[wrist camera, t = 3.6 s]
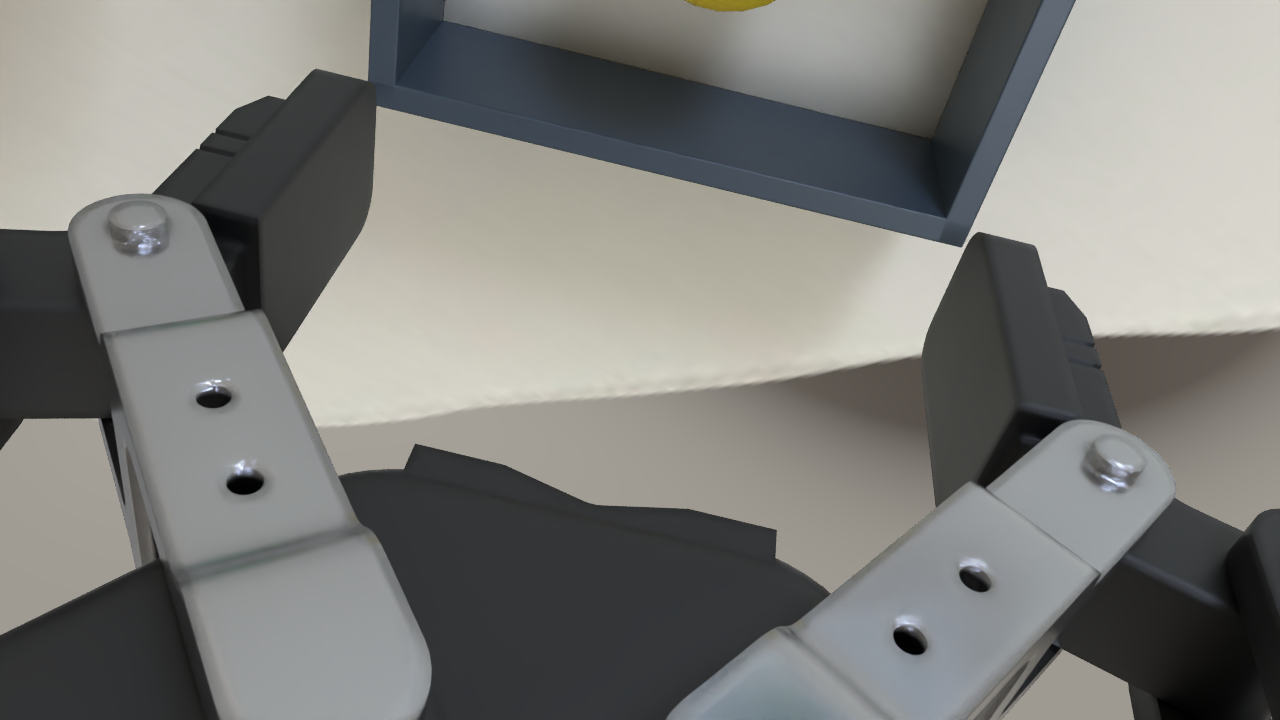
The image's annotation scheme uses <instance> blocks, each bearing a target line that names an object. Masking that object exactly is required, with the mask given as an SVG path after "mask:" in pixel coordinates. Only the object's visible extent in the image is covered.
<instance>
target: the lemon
mask: <svg viewBox="0 0 1280 720" xmlns="http://www.w3.org/2000/svg"><path fill="white" fill-rule="evenodd" d="M685 1H687V2H689V3H691V4H693V5H695V6H699V7H703V8H707V9H711V10H715V11H745V10H749V9H753V8H757V7H761V6H765V5H768V4H770V3H771V2H773V1H775V0H685Z"/></svg>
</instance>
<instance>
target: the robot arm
mask: <svg viewBox="0 0 1280 720" xmlns="http://www.w3.org/2000/svg"><path fill="white" fill-rule="evenodd" d="M375 125H376V90H375V86H374V84H373V83H372V82H369V81H364V80H360V79H356V78H352V77H348V76H344V75H340V74H336V73H332V72H328V71H323V70H319V69H315V70H313V71H312V72H311V73H310V74H309V75H308V76H307V77H306V78H305V79H304V80H303V81H302V82H301V83H300V85H299V86H298V87H297V88H296V89H295V90H294V91H293V92H292V93H291V94H290V95H289V97H288V98H287V99H286V100H284V99H280V98H276V97H271V96H266V97H264V98H262V99H259V100H257V101H254V102H252V103H249V104H247V105H245V106H242V107H240V108H237V109H235V110H234V111H233V112H232V113H231V114H230V115H229V116H228V117H227V118H226V119H225V120H224V121H223V122H222V123H221V124H220V125H219V126H218V127H217V128H216V132H215V133H211V134H210V135H209V136H208V138H207V139H206V140H205V141H204V142H203V143H202V144H201V145H200V149H196V150H195V151H194V152H193V153H192V154H191V155H190V156H189V157H188V158H187V159H186V160H185V161H184V162H183V163H182V164H181V165H180V166H179V167H178V168H177V169H176V170H175V171H174V172H173V173H172V174H171V175H170V176H169V177H168V178H167V179H166V180H165V181H164V182H163V183H162V184H161V185H160V186H159V187H158V188H157V189H156V190H155V191H154V192H153V193H152V194H126V195H119V196H114V197H110V198H106V199H103V200H100V201H97V202H94V203H92V204H90V205H88V206H86V207H85V208H83V209H82V210H81V211H79V212H78V213H77V214H76V215H75V216H74V217H73V218H72V220H71V222H70V223H69V227H68V231H35V230H10V229H0V450H1V449H2V447H3V446H4V445H5V443H6V442H7V441H8V440H9V438H10V437H11V435H12V434H13V433H14V432H15V430H16V429H17V428H18V427H19V425H20V424H21V423H22V421H23V419H24V418H25V419H28V418H29V419H37V418H38V419H42V418H43V419H44V418H45V419H46V418H47V419H48V418H49V419H50V418H98V419H99V425H100V429H101V433H102V437H103V440H104V444H105V448H106V452H107V455H108V459H109V463H110V466H111V470H112V474H113V478H114V482H115V486H116V489H117V493H118V497H119V501H120V504H121V508H122V512H123V516H124V520H125V523H126V527H127V530H128V535H129V539H130V543H131V548H132V552H133V557H134V562H135V567H136V569H135V570H133V571H131V572H129V573H126V574H124V575H122V576H120V577H118V578H116V579H114V580H112V581H110V582H108V583H106V584H104V585H102V586H100V587H98V588H96V589H94V590H92V591H90V592H88V593H86V594H84V595H82V596H80V597H78V598H76V599H74V600H72V601H69V602H68V603H66V604H63V605H61V606H59V607H57V608H55V609H53V610H51V611H49V612H47V613H45V614H43V615H41V616H39V617H37V618H35V619H33V620H31V621H29V622H27V623H25V624H23V625H21V626H19V627H17V628H14V629H12V630H10V631H8V632H6V633H4V634H2V635H0V720H1002V719H1003V718H1004V716H1005V715H1006V714H1007V713H1008V712H1009V711H1010V709H1011V708H1012V707H1013V706H1014V705H1015V704H1016V703H1017V702H1018V701H1019V699H1020V698H1021V697H1022V696H1023V695H1024V694H1025V692H1027V690H1028V689H1029V688H1030V687H1031V686H1032V685H1033V684H1034V682H1035V681H1036V680H1037V679H1038V678H1039V677H1040V675H1042V673H1043V672H1044V671H1045V670H1046V669H1047V668H1048V667H1049V665H1050V664H1051V663H1052V662H1053V661H1054V660H1055V658H1056V657H1057V656H1058V655H1059V654H1060V653H1061V651H1062V650H1063V649H1064V650H1066V651H1068V652H1069V653H1071V654H1073V655H1075V656H1077V657H1079V658H1081V659H1083V660H1085V661H1087V662H1089V663H1091V664H1093V665H1095V666H1097V667H1098V668H1101V669H1102V670H1104V671H1106V672H1108V673H1110V674H1112V675H1114V676H1116V677H1118V678H1120V679H1122V680H1124V681H1126V682H1128V685H1129V693H1130V697H1131V703H1132V709H1133V714H1134V720H1280V509H1270V510H1267V511H1264V512H1262V513H1260V514H1259V515H1258V516H1257V517H1256V518H1255V519H1254V520H1253V522H1252V523H1251V524H1250V525H1249V527H1248V528H1247V529H1246V530H1245V531H1244V532H1243V531H1241V530H1239V529H1237V528H1234V527H1232V526H1230V525H1228V524H1225V523H1224V522H1221V521H1219V520H1217V519H1215V518H1213V517H1211V516H1209V515H1207V514H1204V513H1202V512H1200V511H1198V510H1196V509H1193V508H1191V507H1190V506H1188V505H1186V504H1184V503H1182V502H1180V501H1179V500H1177V499H1176V498H1174V497H1175V494H1176V483H1175V479H1174V476H1173V474H1172V472H1171V470H1170V468H1169V467H1168V466H1167V464H1166V463H1165V461H1164V460H1163V459H1162V458H1161V457H1160V456H1159V455H1158V454H1157V453H1156V452H1155V451H1154V450H1153V449H1152V448H1151V447H1150V446H1148V445H1147V444H1146V443H1144V442H1143V441H1141V440H1140V439H1139V438H1137V437H1135V436H1134V435H1132V434H1130V433H1128V432H1126V431H1124V430H1122V428H1121V424H1120V421H1119V418H1118V415H1117V412H1116V409H1115V405H1114V402H1113V399H1112V396H1111V393H1110V390H1109V387H1108V383H1107V380H1106V377H1105V374H1104V371H1103V370H1100V368H1101V361H1100V358H1099V355H1098V352H1097V349H1094V345H1095V343H1094V340H1093V336H1092V333H1091V330H1090V327H1089V324H1088V321H1087V318H1086V316H1085V315H1084V314H1083V313H1082V312H1081V311H1080V309H1079V308H1078V307H1077V306H1076V305H1075V304H1074V302H1073V301H1072V300H1071V299H1070V298H1069V296H1068V295H1067V294H1066V293H1065V292H1064V291H1062V290H1058V289H1054V288H1050V287H1047V283H1046V280H1045V276H1044V273H1043V269H1042V266H1041V262H1040V259H1039V255H1038V251H1037V249H1036V247H1035V246H1034V245H1031V244H1027V243H1023V242H1019V241H1015V240H1011V239H1006V238H1002V237H998V236H994V235H990V234H986V233H982V232H977V233H976V234H975V235H974V236H973V237H972V238H971V240H970V241H969V243H968V244H967V246H966V248H965V250H964V253H963V255H962V257H961V259H960V261H959V263H958V266H957V268H956V270H955V272H954V274H953V276H952V279H951V281H950V283H949V285H948V287H947V289H946V292H945V294H944V296H943V298H942V300H941V302H940V305H939V307H938V309H937V311H936V313H935V315H934V318H933V320H932V322H931V324H930V327H929V329H928V332H927V335H926V339H925V342H924V347H923V352H922V360H921V374H922V384H923V393H924V402H925V412H926V420H927V430H928V439H929V448H930V458H931V468H932V477H933V486H934V495H935V505H936V508H935V509H934V510H933V511H931V513H929V514H928V515H927V516H925V517H924V518H923V519H922V520H921V521H920V522H918V523H917V524H916V525H914V526H913V527H912V528H911V529H910V530H908V531H907V532H906V533H905V534H903V535H902V536H901V537H900V538H899V539H897V540H896V541H895V542H894V543H893V544H891V545H890V546H889V547H888V548H886V549H885V550H884V551H883V552H881V553H880V554H879V555H878V556H877V557H875V558H874V559H873V560H872V561H870V562H869V563H868V564H867V565H866V566H864V567H863V568H862V569H861V570H859V571H858V572H857V573H856V574H855V575H853V576H852V577H851V578H850V579H848V580H847V581H846V582H845V583H844V584H842V585H841V586H840V587H839V588H838V589H836V590H835V591H834V592H833V593H829V592H828V591H827V590H826V589H825V588H824V587H822V586H821V585H819V584H818V583H817V582H815V581H814V580H813V579H811V578H810V577H808V576H807V575H806V574H804V573H802V572H801V571H799V570H797V569H795V568H793V567H792V566H790V565H789V564H787V563H785V562H782V561H780V560H778V559H776V558H775V553H776V532H777V530H774V529H770V528H766V527H762V526H757V525H753V524H749V523H745V522H740V521H736V520H732V519H728V518H724V517H720V516H716V515H711V514H707V513H703V512H699V511H694V510H690V509H677V508H651V507H627V506H626V507H625V506H601V505H594V504H590V503H587V502H584V501H582V500H580V499H578V498H575V497H573V496H571V495H569V494H567V493H564V492H562V491H560V490H558V489H556V488H554V487H551V486H549V485H547V484H544V483H543V482H540V481H538V480H536V479H534V478H532V477H529V476H527V475H525V474H523V473H521V472H519V471H516V470H514V469H512V468H510V467H508V466H505V465H502V464H497V463H494V462H490V461H485V460H481V459H477V458H473V457H469V456H465V455H460V454H456V453H452V452H448V451H444V450H439V449H435V448H431V447H427V446H422V445H418V444H415V446H414V448H413V450H412V452H411V455H410V457H409V459H408V461H407V463H406V466H405V468H404V469H383V470H368V471H362V472H355V473H348V474H344V475H340V476H338V475H337V473H336V471H335V468H334V466H333V464H332V462H331V460H330V457H329V455H328V453H327V451H326V448H325V446H324V444H323V442H322V440H321V437H320V435H319V433H318V430H317V428H316V426H315V424H314V422H313V419H312V417H311V415H310V413H309V410H308V408H307V406H306V404H305V401H304V399H303V397H302V395H301V393H300V390H299V388H298V386H297V384H296V381H295V379H294V377H293V375H292V372H291V370H290V368H289V366H288V364H287V361H286V359H285V357H284V355H283V352H284V350H285V348H286V347H287V345H288V344H289V342H290V341H291V339H292V338H293V336H294V335H295V333H296V331H297V330H298V328H299V327H300V325H301V324H302V322H303V321H304V319H305V317H306V316H307V314H308V313H309V311H310V310H311V308H312V307H313V305H314V304H315V302H316V300H317V299H318V297H319V296H320V294H321V293H322V291H323V290H324V288H325V287H326V285H327V283H328V282H329V280H330V279H331V277H332V276H333V274H334V273H335V271H336V270H337V268H338V266H339V265H340V263H341V262H342V260H343V259H344V257H345V256H346V254H347V253H348V251H349V249H350V248H351V246H352V245H353V243H354V242H355V240H356V239H357V237H358V235H359V234H360V232H361V230H362V228H363V226H364V224H365V221H366V218H367V215H368V211H369V207H370V203H371V197H372V189H373V170H374V147H375ZM1271 716H1272V719H1271Z"/></svg>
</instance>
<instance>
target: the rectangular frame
mask: <svg viewBox="0 0 1280 720" xmlns="http://www.w3.org/2000/svg"><path fill="white" fill-rule="evenodd" d="M1075 1H1076V0H989V2H988V4H987V7H986V9H985V11H984V14H983V16H982V19H981V21H980V24H979V26H978V29H977V31H976V34H975V36H974V38H973V41H972V43H971V46H970V48H969V51H968V53H967V56H966V58H965V60H964V63H963V65H962V68H961V70H960V73H959V75H958V78H957V80H956V82H955V85H954V87H953V90H952V92H951V95H950V97H949V100H948V102H947V104H946V107H945V109H944V112H943V114H942V117H941V119H940V122H939V124H938V127H937V129H936V131H935V134H934V136H933V139H932V140H930V139H926V138H922V137H918V136H914V135H909V134H905V133H901V132H897V131H893V130H889V129H885V128H881V127H877V126H873V125H869V124H864V123H860V122H856V121H852V120H848V119H844V118H840V117H836V116H832V115H828V114H824V113H819V112H815V111H811V110H807V109H803V108H799V107H795V106H791V105H787V104H783V103H779V102H774V101H770V100H766V99H762V98H758V97H754V96H750V95H746V94H742V93H738V92H734V91H729V90H725V89H721V88H717V87H713V86H709V85H705V84H701V83H697V82H693V81H689V80H684V79H680V78H676V77H672V76H668V75H664V74H660V73H656V72H652V71H648V70H644V69H639V68H635V67H631V66H627V65H623V64H619V63H615V62H611V61H607V60H603V59H599V58H594V57H590V56H586V55H582V54H578V53H574V52H570V51H566V50H562V49H558V48H554V47H549V46H545V45H541V44H537V43H533V42H529V41H525V40H521V39H517V38H513V37H509V36H504V35H500V34H496V33H492V32H488V31H484V30H480V29H476V28H472V27H468V26H464V25H459V24H455V23H451V22H447V21H443V17H444V5H445V0H371V20H370V45H369V69H368V81H369V82H372V83H373V84H374V86H375V90H376V106H380V107H384V108H388V109H392V110H397V111H401V112H405V113H409V114H413V115H417V116H421V117H425V118H430V119H434V120H438V121H442V122H446V123H450V124H454V125H458V126H462V127H467V128H471V129H475V130H479V131H483V132H487V133H491V134H495V135H500V136H504V137H508V138H512V139H516V140H520V141H524V142H528V143H533V144H537V145H541V146H545V147H549V148H553V149H557V150H561V151H566V152H570V153H574V154H578V155H582V156H586V157H590V158H594V159H598V160H603V161H607V162H611V163H615V164H619V165H623V166H627V167H631V168H636V169H640V170H644V171H648V172H652V173H656V174H660V175H664V176H669V177H673V178H677V179H681V180H685V181H689V182H693V183H697V184H702V185H706V186H710V187H714V188H718V189H722V190H726V191H730V192H734V193H739V194H743V195H747V196H751V197H755V198H759V199H763V200H767V201H772V202H776V203H780V204H784V205H788V206H792V207H796V208H800V209H805V210H809V211H813V212H817V213H821V214H825V215H829V216H833V217H838V218H842V219H846V220H850V221H854V222H858V223H862V224H866V225H870V226H875V227H879V228H883V229H887V230H891V231H895V232H899V233H903V234H908V235H912V236H916V237H920V238H924V239H928V240H932V241H936V242H941V243H945V244H949V245H953V246H957V247H962V246H963V244H964V242H965V240H966V238H967V236H968V233H969V231H970V229H971V227H972V225H973V223H974V220H975V218H976V216H977V214H978V212H979V210H980V207H981V205H982V203H983V201H984V199H985V197H986V194H987V192H988V190H989V188H990V186H991V183H992V181H993V179H994V177H995V175H996V173H997V170H998V168H999V166H1000V164H1001V162H1002V160H1003V157H1004V155H1005V153H1006V151H1007V149H1008V147H1009V144H1010V142H1011V140H1012V138H1013V136H1014V134H1015V131H1016V129H1017V127H1018V125H1019V123H1020V121H1021V118H1022V116H1023V114H1024V112H1025V110H1026V107H1027V105H1028V103H1029V101H1030V99H1031V97H1032V94H1033V92H1034V90H1035V88H1036V86H1037V84H1038V81H1039V79H1040V77H1041V75H1042V73H1043V71H1044V68H1045V66H1046V64H1047V62H1048V60H1049V58H1050V55H1051V53H1052V51H1053V49H1054V47H1055V44H1056V42H1057V40H1058V38H1059V36H1060V34H1061V31H1062V29H1063V27H1064V25H1065V23H1066V21H1067V18H1068V16H1069V14H1070V12H1071V10H1072V8H1073V5H1074V3H1075Z"/></svg>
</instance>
